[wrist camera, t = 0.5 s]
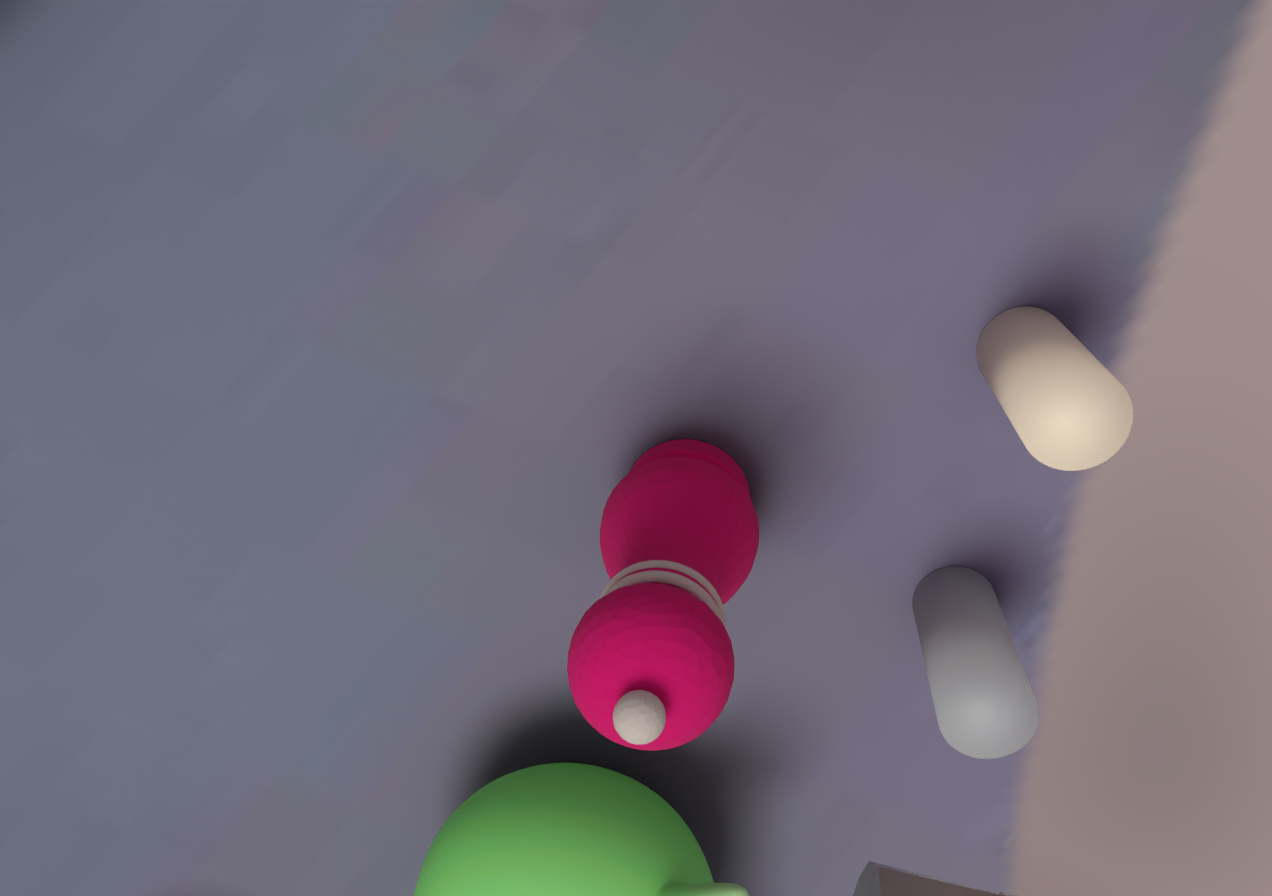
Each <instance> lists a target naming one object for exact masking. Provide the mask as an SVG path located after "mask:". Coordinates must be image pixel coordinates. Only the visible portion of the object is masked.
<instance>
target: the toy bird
mask: <svg viewBox="0 0 1272 896" xmlns="http://www.w3.org/2000/svg"><path fill="white" fill-rule="evenodd" d="M414 896H749V893H748V891H747V890H746V889H745V888H744V887H743V886H741V885H738V884H734V883H714V881H713V878H712V875H711V872H710V869H709V866H708V863H707V861H706V858H705V856H704V854H703V852H702V850H701V848H700V846H699V844H698V842H697V840H696V838H695V837H694V835H693V833H692V832H691V830H690V829H689V827H688V826H687V824H686V823H685V822H684V820H683V819H682V818H681V817H680V815H679V814H678V813H677V812H676V811H675V810H674V809H673V808H672V807H671V806H670V805H669V804H668V803H667V802H666V801H665V800H664V799H663V798H662V797H660V796H659V795H658V794H656V793H655V792H654V791H652V790H651V789H649V788H648V787H646V786H645V785H643V784H641V783H640V782H638V781H636V780H634V779H632V778H630V777H628V776H626V775H623V774H621V773H618V772H615V771H613V770H609V769H606V768H602V767H598V766H594V765H588V764H580V763H550V764H542V765H536V766H532V767H528V768H524V769H521V770H517V771H515V772H512V773H509V774H507V775H504V776H502V777H500V778H498V779H496V780H494V781H492V782H490V783H489V784H487V785H485V786H484V787H482V788H481V789H479V790H478V791H476V792H475V793H474V794H472V795H471V796H470V797H469V798H468V799H466V800H465V801H464V802H463V803H462V804H461V805H460V806H459V807H458V808H457V809H456V810H455V811H454V812H453V813H452V815H451V816H450V817H449V818H448V820H447V821H446V822H445V824H444V825H443V826H442V828H441V829H440V831H439V833H438V834H437V836H436V837H435V839H434V841H433V843H432V845H431V847H430V849H429V851H428V853H427V855H426V858H425V860H424V863H423V865H422V868H421V871H420V874H419V877H418V881H417V884H416V888H415V893H414Z"/></svg>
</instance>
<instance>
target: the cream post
mask: <svg viewBox="0 0 1272 896" xmlns="http://www.w3.org/2000/svg"><path fill="white" fill-rule="evenodd" d="M976 354H977V362H978V365H979V368H980V370H981V372H982V374H983V375H984V377H985V379H986V381H987V382H988V384H989V386H990V387H991V389H992V391H993V392H994V394H995V396H996V398H997V399H998V401H999V403H1000V404H1001V406H1002V408H1003V409H1004V411H1005V413H1006V414H1007V416H1008V418H1009V420H1010V421H1011V423H1012V425H1013V426H1014V428H1015V430H1016V431H1017V433H1018V435H1019V437H1020V438H1021V440H1022V442H1023V443H1024V445H1025V447H1026V448H1027V450H1028V451H1029V452H1030V453H1031V454H1032V456H1033V457H1035V458H1036V459H1037V460H1038V461H1040V462H1041V463H1043V464H1045V465H1047V466H1049V467H1052V468H1055V469H1059V470H1066V471H1077V470H1084V469H1088V468H1091V467H1094V466H1097V465H1099V464H1101V463H1103V462H1105V461H1106V460H1108V459H1109V458H1110V457H1112V456H1113V455H1114V454H1115V453H1116V452H1117V451H1118V450H1119V449H1120V448H1121V447H1122V445H1123V444H1124V442H1125V441H1126V439H1127V437H1128V435H1129V433H1130V430H1131V427H1132V422H1133V408H1132V403H1131V399H1130V397H1129V395H1128V393H1127V391H1126V390H1125V388H1124V387H1123V386H1122V385H1121V383H1120V382H1119V381H1118V380H1117V379H1116V378H1115V377H1114V376H1113V375H1112V374H1111V373H1110V372H1109V371H1108V370H1107V369H1106V368H1105V367H1104V366H1103V365H1102V364H1101V363H1100V362H1099V361H1098V360H1097V359H1096V358H1095V357H1094V356H1093V355H1092V354H1091V353H1090V352H1089V351H1088V350H1087V349H1086V348H1085V347H1084V346H1083V344H1082V343H1081V342H1080V341H1079V340H1078V339H1077V338H1076V337H1075V336H1074V335H1073V334H1072V333H1071V332H1070V331H1069V330H1068V329H1067V328H1066V327H1065V326H1064V325H1063V324H1062V323H1061V322H1060V321H1059V320H1058V319H1057V318H1056V317H1055V316H1054V315H1052V314H1051V313H1049V312H1047V311H1045V310H1043V309H1040V308H1036V307H1028V306H1024V307H1016V308H1012V309H1009V310H1006V311H1004V312H1002V313H1000V314H999V315H997V316H996V317H995V318H993V319H992V320H991V321H990V322H989V323H988V324H987V325H986V327H985V328H984V330H983V331H982V333H981V335H980V337H979V340H978V344H977V350H976Z"/></svg>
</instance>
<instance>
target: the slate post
mask: <svg viewBox="0 0 1272 896" xmlns="http://www.w3.org/2000/svg"><path fill="white" fill-rule="evenodd" d="M912 605H913V612H914V616H915V621H916V625H917V630H918V634H919V639H920V643H921V648H922V652H923V657H924V661H925V666H926V670H927V675H928V679H929V684H930V688H931V693H932V697H933V702H934V706H935V711H936V715H937V720H938V724H939V728H940V731H941V733H942V735H943V737H944V738H945V740H946V741H947V742H948V743H949V744H950V745H951V746H952V747H953V748H954V749H956V750H957V751H959V752H961V753H963V754H965V755H968V756H971V757H975V758H981V759H994V758H1000V757H1004V756H1007V755H1010V754H1012V753H1014V752H1016V751H1018V750H1019V749H1021V748H1022V747H1023V746H1025V745H1026V744H1027V743H1028V742H1029V741H1030V740H1031V738H1032V737H1033V735H1034V733H1035V731H1036V729H1037V726H1038V722H1039V710H1038V706H1037V703H1036V700H1035V698H1034V695H1033V692H1032V690H1031V687H1030V684H1029V682H1028V679H1027V676H1026V674H1025V671H1024V668H1023V666H1022V663H1021V661H1020V658H1019V655H1018V653H1017V650H1016V647H1015V645H1014V642H1013V639H1012V637H1011V634H1010V631H1009V629H1008V626H1007V623H1006V621H1005V618H1004V616H1003V613H1002V610H1001V608H1000V605H999V602H998V600H997V597H996V594H995V592H994V589H993V587H992V585H991V584H990V582H989V581H988V580H987V579H986V578H985V577H984V576H983V575H982V574H980V573H979V572H977V571H975V570H973V569H970V568H967V567H961V566H950V567H944V568H941V569H938V570H935V571H933V572H932V573H930V574H929V575H927V576H926V577H925V578H924V579H923V580H922V581H921V582H920V583H919V584H918V586H917V588H916V590H915V592H914V595H913V601H912Z"/></svg>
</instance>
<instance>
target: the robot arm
mask: <svg viewBox="0 0 1272 896" xmlns="http://www.w3.org/2000/svg"><path fill="white" fill-rule="evenodd" d="M853 896H1016V895H1012V894H1007V893H1003V892H1000V893H999V894H996V893H993V892H989V891H985V890H981V889H977V888H973V887H969V886H965V885H961V884H957V883H953V882H949V881H945V880H941V879H937V878H933V877H929V876H925V875H922V874H918V873H914V872H910V871H906V870H902V869H898V868H894V867H890V866H886V865H882V864H878V863H874V862H870V861H869V862H868V864H867V866H866V867H865V869H864V870H863V872H862V874H861V875H860V878H859V880H858V883H857V886H856V888H855V891H854V894H853Z"/></svg>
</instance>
